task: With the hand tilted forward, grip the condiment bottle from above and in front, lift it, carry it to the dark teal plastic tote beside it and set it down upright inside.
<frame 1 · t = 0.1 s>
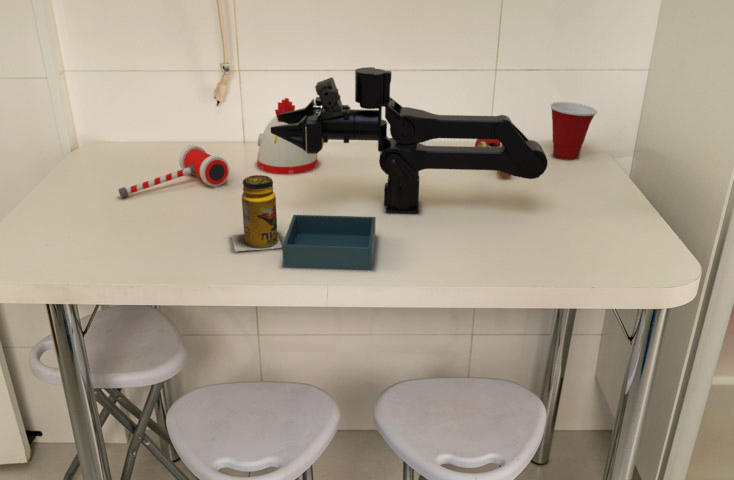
hand: (274, 123, 151), 17 cm above the table, tool horizontal, fingers open, 9 cm apart
toy hammer: (181, 186, 170), on the table
condiment: (256, 243, 143), on the table
tote: (331, 251, 140), on the table
kendama: (494, 167, 181), on the table
plastic cup: (566, 157, 188), on the table
kitchen timer: (287, 165, 182), on the table
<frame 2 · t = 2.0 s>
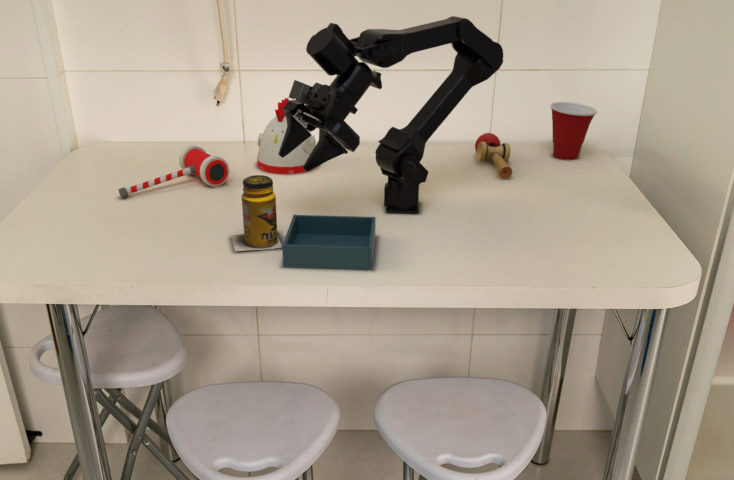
hand: (292, 162, 140), 14 cm above the table, tool tilted 45°, fingers open, 9 cm apart
nothing on the table moved.
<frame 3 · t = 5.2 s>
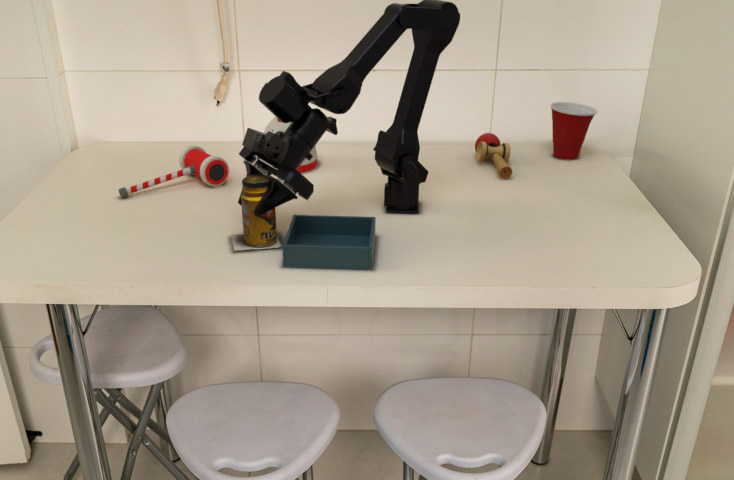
hand: (247, 209, 139), 7 cm above the table, tool tilted 45°, fingers closed on condiment, 6 cm apart
condiment: (255, 243, 143), on the table, touching gripper
everything else where it was.
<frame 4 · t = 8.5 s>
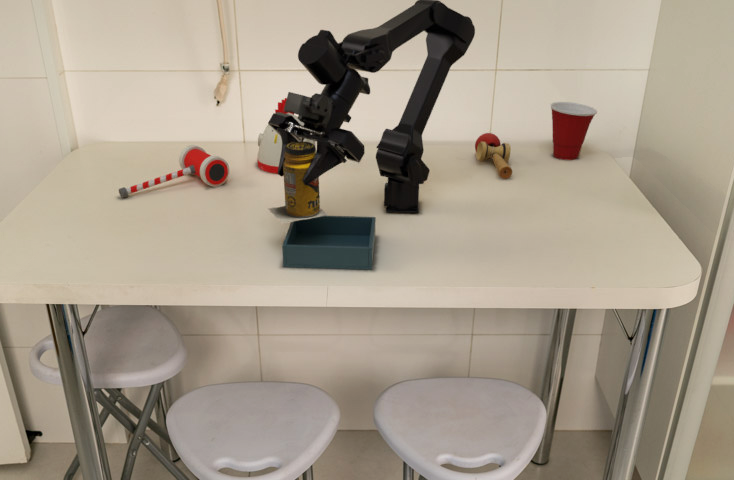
hand: (291, 179, 133), 13 cm above the table, tool tilted 45°, fingers closed on condiment, 6 cm apart
condiment: (298, 214, 137), point 7 cm above the table, touching gripper
everything else where it was.
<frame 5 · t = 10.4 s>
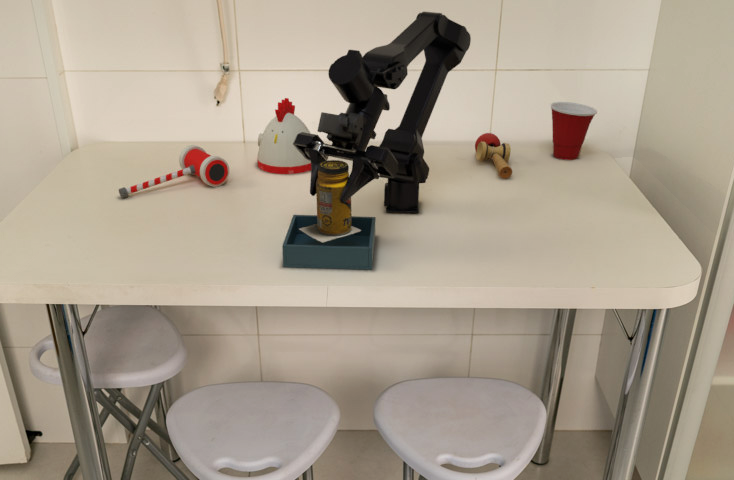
hand: (326, 198, 133), 10 cm above the table, tool tilted 45°, fingers closed on condiment, 6 cm apart
condiment: (330, 232, 138), point 4 cm above the table, touching gripper
everything else where it was.
when the fingers open (7 cm above the table, at t = 11.9 s): condiment stays where it is, resting on tote.
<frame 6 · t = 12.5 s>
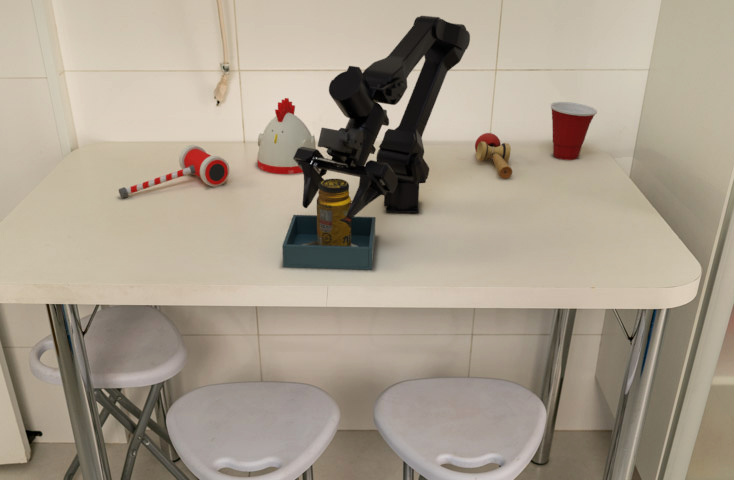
hand: (326, 212, 134), 8 cm above the table, tool tilted 45°, fingers open, 9 cm apart
condiment: (329, 249, 140), resting on tote
everything else where it was.
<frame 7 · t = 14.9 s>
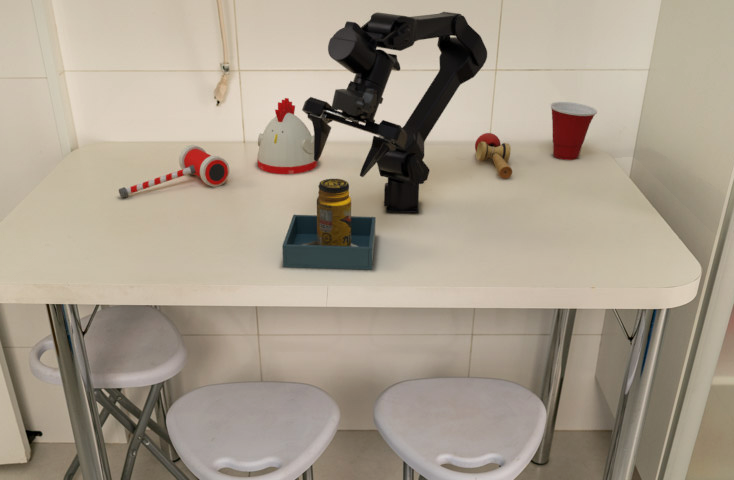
hand: (338, 168, 139), 13 cm above the table, tool tilted 30°, fingers open, 9 cm apart
nothing on the table moved.
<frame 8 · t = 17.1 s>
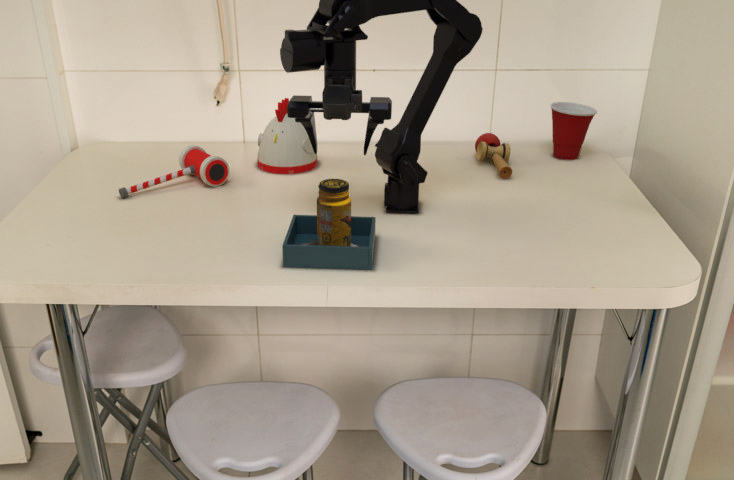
hand: (340, 154, 146), 13 cm above the table, tool pointing down, fingers open, 9 cm apart
nothing on the table moved.
at the end: condiment inside the target area in the tote (0.4 cm from its centre), point 0.3 cm above the tote's base; condiment tilted 0°; the gripper is holding nothing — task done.
